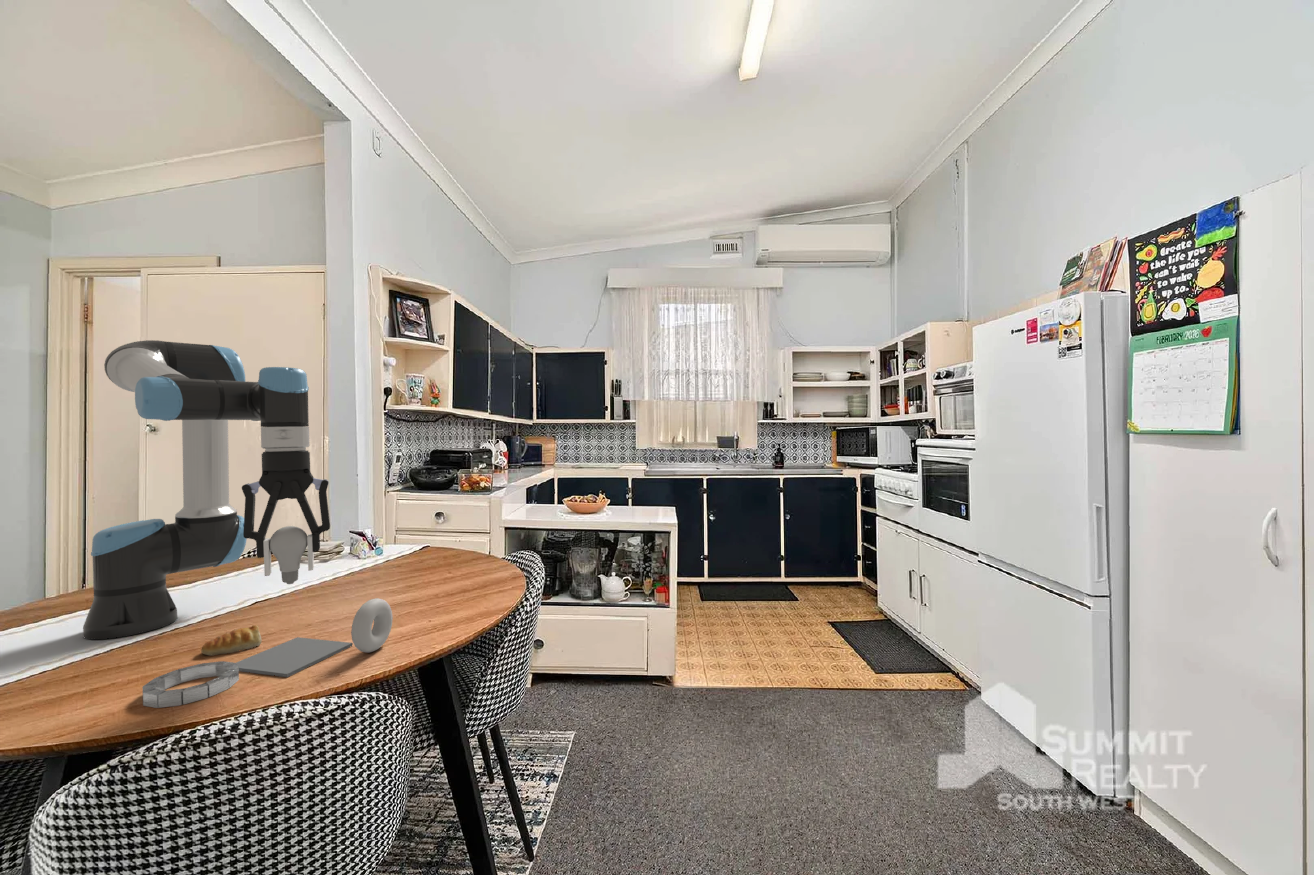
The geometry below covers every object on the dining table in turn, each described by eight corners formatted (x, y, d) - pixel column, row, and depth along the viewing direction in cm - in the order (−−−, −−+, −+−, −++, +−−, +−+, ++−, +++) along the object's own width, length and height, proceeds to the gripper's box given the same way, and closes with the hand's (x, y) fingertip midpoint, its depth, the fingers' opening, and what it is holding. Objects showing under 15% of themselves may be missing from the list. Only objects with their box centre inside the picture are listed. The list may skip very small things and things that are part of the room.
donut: (364, 661, 99) (363, 608, 99) (347, 661, 100) (345, 607, 100) (397, 640, 109) (395, 591, 109) (381, 640, 110) (379, 591, 110)
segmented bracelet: (123, 702, 86) (123, 690, 86) (204, 669, 97) (204, 658, 97) (178, 711, 83) (177, 698, 83) (255, 676, 94) (254, 665, 94)
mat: (226, 669, 97) (226, 666, 97) (297, 640, 111) (297, 637, 111) (287, 677, 94) (287, 673, 94) (352, 645, 107) (352, 642, 107)
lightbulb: (289, 579, 105) (287, 523, 105) (317, 579, 105) (315, 523, 104) (262, 588, 99) (260, 529, 99) (291, 589, 99) (289, 529, 98)
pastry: (203, 661, 102) (202, 641, 102) (199, 652, 106) (199, 633, 106) (264, 646, 108) (263, 627, 108) (258, 638, 113) (257, 620, 113)
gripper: (217, 452, 94) (222, 584, 94) (344, 448, 103) (347, 568, 103) (226, 451, 100) (230, 574, 101) (344, 447, 110) (348, 560, 110)
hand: (289, 571), depth 102 cm, fingers closed on lightbulb, 6 cm apart
